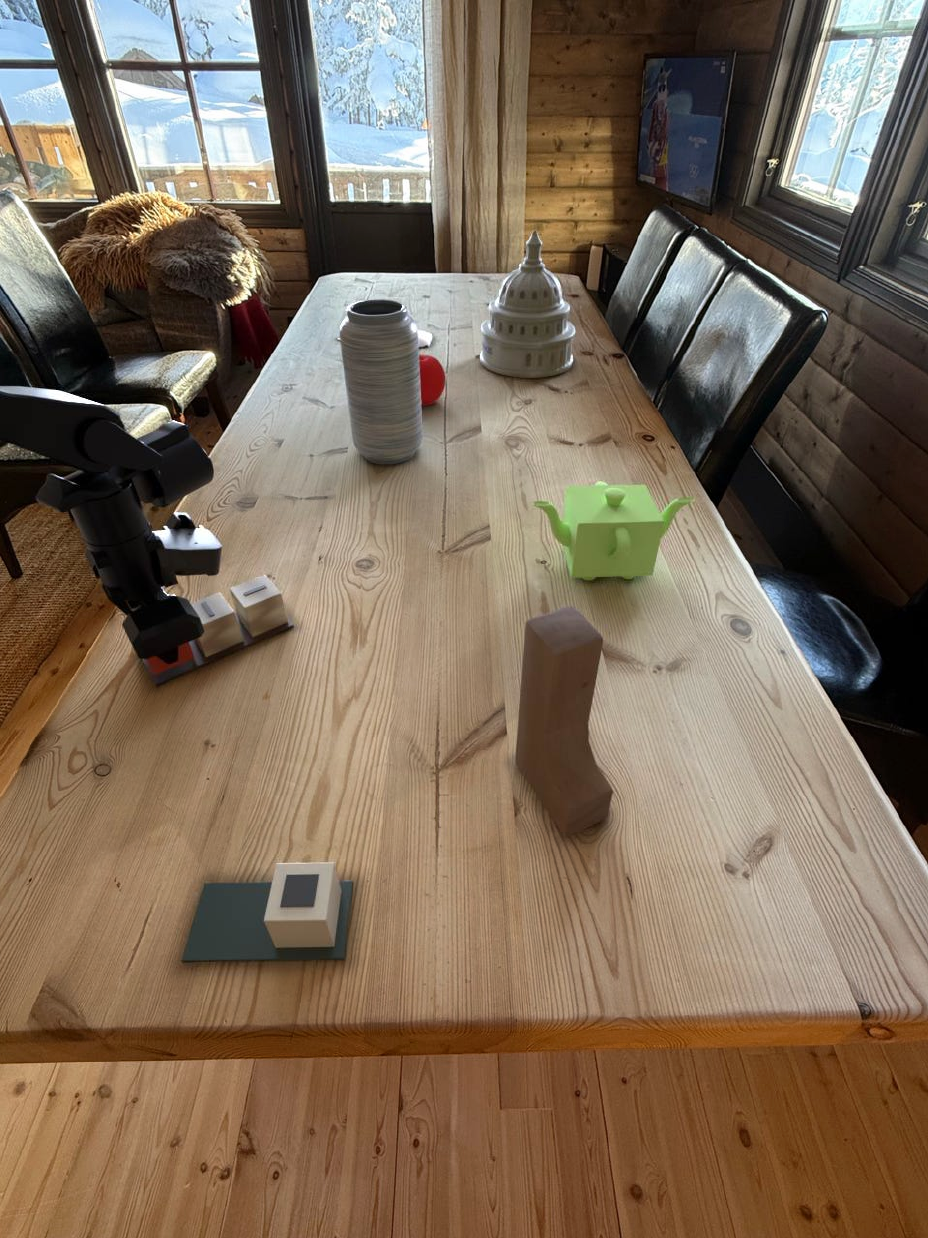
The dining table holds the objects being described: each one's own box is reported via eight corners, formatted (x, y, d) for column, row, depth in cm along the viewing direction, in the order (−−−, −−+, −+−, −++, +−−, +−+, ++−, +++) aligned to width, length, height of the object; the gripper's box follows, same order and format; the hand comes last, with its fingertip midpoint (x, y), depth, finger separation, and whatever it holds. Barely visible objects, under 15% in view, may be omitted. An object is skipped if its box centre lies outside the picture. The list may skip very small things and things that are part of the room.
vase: (340, 451, 111) (321, 306, 96) (396, 431, 117) (385, 291, 102) (381, 476, 104) (366, 324, 89) (437, 454, 110) (432, 307, 95)
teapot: (526, 565, 86) (531, 494, 79) (579, 522, 94) (588, 453, 87) (631, 612, 79) (647, 537, 72) (679, 560, 87) (698, 489, 80)
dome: (500, 216, 136) (596, 223, 131) (496, 341, 153) (582, 351, 147) (465, 236, 122) (572, 244, 117) (466, 371, 138) (559, 384, 133)
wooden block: (608, 820, 58) (643, 676, 46) (564, 840, 56) (589, 697, 44) (553, 746, 64) (573, 602, 52) (513, 762, 62) (523, 618, 51)
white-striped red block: (154, 675, 70) (140, 644, 67) (142, 652, 73) (128, 622, 70) (195, 658, 72) (183, 627, 69) (181, 636, 75) (169, 606, 72)
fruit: (410, 389, 131) (407, 337, 125) (452, 396, 129) (451, 343, 122) (390, 407, 125) (385, 353, 118) (433, 414, 122) (431, 360, 116)
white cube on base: (182, 963, 49) (162, 933, 46) (205, 885, 53) (188, 853, 50) (344, 960, 49) (335, 931, 46) (353, 883, 53) (346, 851, 50)
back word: (156, 687, 70) (141, 654, 67) (139, 656, 74) (124, 623, 70) (294, 627, 77) (286, 594, 74) (272, 601, 81) (264, 569, 78)
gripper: (236, 544, 60) (270, 667, 70) (170, 466, 71) (207, 581, 81) (108, 590, 55) (165, 715, 65) (58, 498, 66) (113, 616, 76)
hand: (166, 650), depth 72 cm, fingers closed on white-striped red block, 4 cm apart
